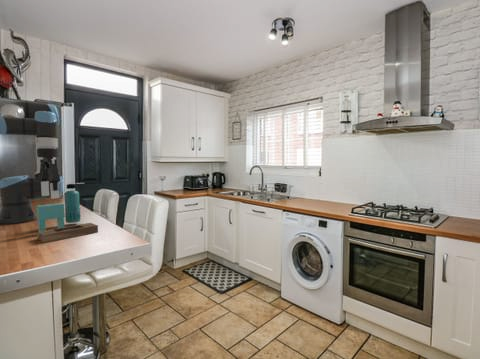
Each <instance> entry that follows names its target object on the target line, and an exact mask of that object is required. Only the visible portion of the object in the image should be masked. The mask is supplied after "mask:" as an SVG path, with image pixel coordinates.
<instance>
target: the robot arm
mask: <svg viewBox="0 0 480 359" xmlns="http://www.w3.org/2000/svg"><path fill="white" fill-rule="evenodd" d="M59 125H60V116H59V112H58V108H57V106H56V105H55V104H53V103H46V102H45V103H44V102H33V101H24V100H20V101H19V100H17V101H11V102H8V103H6V104H4V105H2V107H1V108H0V135H12V136H14V135H15V136H16V135H17V136H33V137H34V136H35V137H34V138H35V140H34V142H35V152H36V153H35V155H36V168H37V169H36V171H35V173H34V175H33V177H30V175H28V174H25V175H15V176H9V177H4V178H2V179H0V202H1V203H0V204H1V207H0V208H1V209H0V224H1V225H3V224H4V225H5V224H6V225H7V224H8V225H9V224H10V225H11V224H18V223H19V224H20V223H27V222H31V221H34V220H36V219H37V218H36V217H37V215H36V213H35V211H34V209H33V207H32V203H31V200H43V199H44V200H45V199H51V200H55V199H59V198H60V197H61V196H62V195H63V186H64V176H61V174H60V172H59V168H58V163H57V160H58V159H56V158H58V157H59V150H58V147H59V143H58V142H59V140H58V126H59Z"/></svg>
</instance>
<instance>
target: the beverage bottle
mask: <svg viewBox="0 0 480 359" xmlns="http://www.w3.org/2000/svg"><path fill="white" fill-rule="evenodd" d="M65 188H66V189H67V190H66V191H65V192H64V193H63V194H64V214H65V217H64V219H65V223H67V224H72V223H79V222H80V221H81V207H80V206H81V205H80V204H81V203H80V192H79V191H77V190H74V189H77V184H76V183H67V184H66V187H65ZM70 189H71V190H70ZM72 189H73V190H72Z"/></svg>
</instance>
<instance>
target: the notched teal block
mask: <svg viewBox="0 0 480 359" xmlns="http://www.w3.org/2000/svg"><path fill="white" fill-rule="evenodd" d="M36 217H37V218H36V219H37V221H38V231H44V230H47V229H46V228H47V227H46V221H47V220H48V221H49V220H55V219H56V223H57V228H62V227H65V203H61V202H60V203H52V204H44V205H43V204H42V205H36Z"/></svg>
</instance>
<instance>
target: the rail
mask: <svg viewBox="0 0 480 359" xmlns="http://www.w3.org/2000/svg"><path fill="white" fill-rule="evenodd" d="M36 233H37V240H39V241H40V242H42V243H43V244H45V243H46V244H47V243H49V242H55V241H60V240H64V239H71V238H76V237H82V236H86V235H90V234H96V233H99V225H98V224H96V223H95V224H94V223H93V222H87V223H80V224H75V225H70V226H69V225H68V226H64V227H62V228H58V227H56V228H50V229H46V230H44V231H39V230H38V231H37V232H36Z"/></svg>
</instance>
